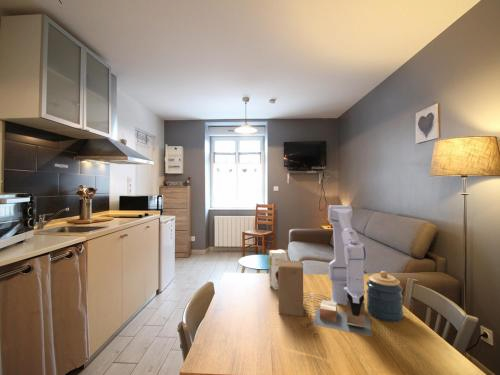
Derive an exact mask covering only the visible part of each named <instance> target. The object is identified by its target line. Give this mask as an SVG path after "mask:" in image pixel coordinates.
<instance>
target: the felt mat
mask: <svg viewBox="0 0 500 375" xmlns="http://www.w3.org/2000/svg"><path fill="white" fill-rule="evenodd" d="M312 325H314V326H320V327H324V328H329V329H334V330H338V331H343V332H347V333H354V334H357V335H358V334H359V335H363V336H368V337H373V333H372V328H371V320H370V316H368V315H365V327H360V326H355V325H349V324H347V311H339V310H337V316H336V322H334V321H329V320H324V319H320V307H317V308H316V310H315V315H314V319H313V322H312Z"/></svg>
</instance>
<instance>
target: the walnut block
mask: <svg viewBox="0 0 500 375" xmlns="http://www.w3.org/2000/svg"><path fill="white" fill-rule="evenodd" d="M365 305H366V304H365V302H363V303H362V305H361V309H360V314H359V316H355V315H353V314H352V309H351V305H350V302H349V300H347V305H346V313H347V324H349V325H355V326H360V327H365V316H366V310H365V308H366V306H365Z"/></svg>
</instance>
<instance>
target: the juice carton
mask: <svg viewBox="0 0 500 375" xmlns="http://www.w3.org/2000/svg"><path fill="white" fill-rule="evenodd" d="M268 252H269V254H268V283H269V286H270V287H271V288H272V289H273V290H274V291H276V290H277V291H278V267H279V263H280V261H281V260H288V254H287V251H285V250H283V249H280V248H279V249H276V250H275V249H271V250H269V251H268Z"/></svg>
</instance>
